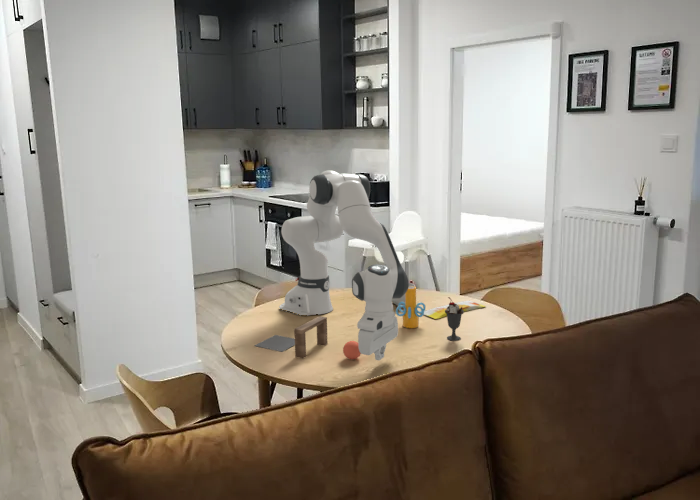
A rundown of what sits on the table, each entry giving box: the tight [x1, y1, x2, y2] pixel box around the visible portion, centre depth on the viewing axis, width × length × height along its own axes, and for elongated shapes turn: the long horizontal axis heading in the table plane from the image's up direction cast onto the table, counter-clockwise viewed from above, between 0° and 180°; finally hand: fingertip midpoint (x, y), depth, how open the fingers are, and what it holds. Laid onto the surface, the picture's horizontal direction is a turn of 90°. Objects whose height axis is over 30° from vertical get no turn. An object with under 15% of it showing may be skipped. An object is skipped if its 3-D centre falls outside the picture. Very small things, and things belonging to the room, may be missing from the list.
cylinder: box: [395, 285, 426, 329], centre depth 232 cm, size 12×10×15 cm
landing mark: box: [254, 334, 295, 353], centre depth 218 cm, size 12×12×1 cm
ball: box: [342, 340, 362, 360], centre depth 202 cm, size 6×6×6 cm
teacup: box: [392, 282, 416, 306], centre depth 262 cm, size 14×11×8 cm
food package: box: [420, 300, 487, 320], centre depth 251 cm, size 27×2×10 cm
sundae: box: [445, 297, 465, 342], centre depth 218 cm, size 7×7×15 cm
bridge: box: [293, 315, 329, 359], centre depth 210 cm, size 3×15×10 cm, turn 149°
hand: (379, 358), depth 198 cm, fingers closed
